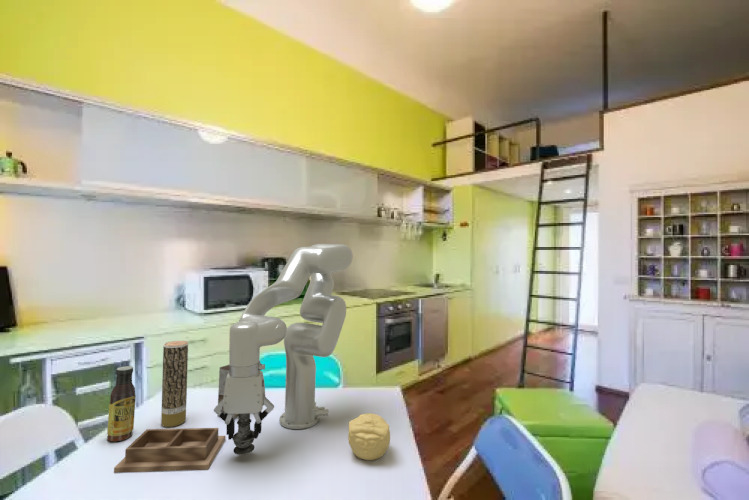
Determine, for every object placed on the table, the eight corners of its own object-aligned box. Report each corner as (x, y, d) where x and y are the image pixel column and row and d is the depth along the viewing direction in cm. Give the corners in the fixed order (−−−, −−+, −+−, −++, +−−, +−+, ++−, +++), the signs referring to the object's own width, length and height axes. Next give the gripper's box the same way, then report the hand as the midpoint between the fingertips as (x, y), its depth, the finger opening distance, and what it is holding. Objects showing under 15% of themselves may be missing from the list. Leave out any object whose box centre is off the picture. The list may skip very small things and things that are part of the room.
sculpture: (343, 463, 93) (345, 422, 93) (353, 439, 105) (354, 403, 105) (387, 468, 92) (388, 427, 92) (391, 444, 104) (392, 407, 104)
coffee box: (230, 421, 114) (232, 371, 114) (216, 416, 117) (218, 367, 117) (252, 410, 122) (253, 363, 123) (238, 405, 125) (240, 360, 125)
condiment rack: (225, 439, 103) (225, 424, 103) (207, 469, 89) (208, 451, 89) (144, 441, 101) (145, 425, 101) (113, 472, 87) (114, 454, 87)
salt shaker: (236, 443, 97) (236, 399, 97) (258, 442, 98) (258, 399, 98) (229, 456, 92) (229, 410, 91) (252, 455, 92) (252, 409, 92)
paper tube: (190, 418, 115) (192, 341, 115) (176, 428, 108) (179, 346, 108) (170, 416, 116) (173, 340, 116) (155, 427, 109) (158, 345, 109)
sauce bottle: (112, 445, 99) (115, 373, 99) (102, 438, 102) (105, 369, 102) (138, 435, 104) (140, 367, 104) (128, 429, 107) (130, 363, 107)
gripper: (280, 363, 99) (279, 427, 99) (215, 364, 97) (215, 430, 97) (275, 373, 91) (274, 442, 92) (205, 375, 90) (205, 445, 90)
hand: (244, 435), depth 95 cm, fingers closed on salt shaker, 5 cm apart
